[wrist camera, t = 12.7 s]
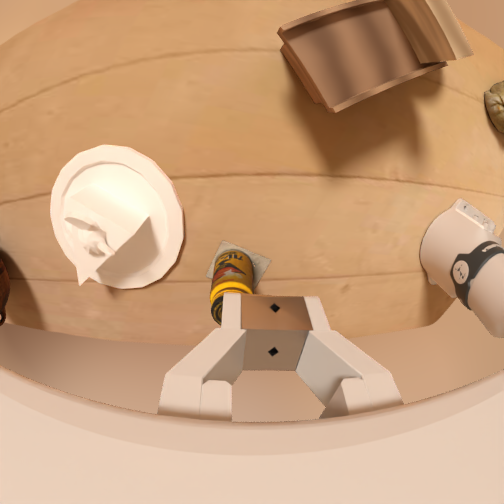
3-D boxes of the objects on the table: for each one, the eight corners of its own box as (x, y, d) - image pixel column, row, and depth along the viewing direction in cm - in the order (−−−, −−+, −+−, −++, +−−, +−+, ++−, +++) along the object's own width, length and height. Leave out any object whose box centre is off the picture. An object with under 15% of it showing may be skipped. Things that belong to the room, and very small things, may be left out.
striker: (420, 63, 21) (457, 59, 15) (384, 0, 18) (414, -16, 12) (437, 57, 21) (473, 54, 15) (403, -3, 17) (434, -18, 11)
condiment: (222, 239, 42) (216, 285, 32) (271, 259, 44) (280, 308, 34) (205, 275, 45) (196, 326, 35) (251, 292, 47) (254, 344, 37)
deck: (311, 112, 33) (335, 112, 24) (270, 47, 28) (280, 26, 20) (406, 69, 29) (447, 65, 20) (372, 10, 24) (406, -10, 15)
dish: (79, 120, 32) (33, 129, 22) (214, 194, 39) (205, 225, 29) (44, 242, 41) (11, 274, 31) (150, 305, 48) (134, 349, 38)
